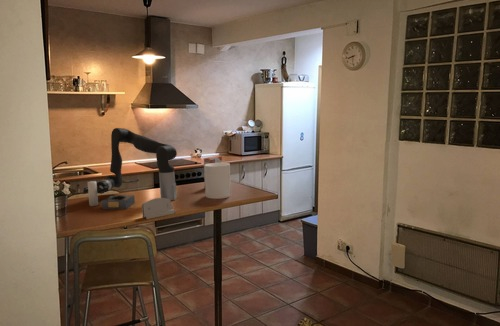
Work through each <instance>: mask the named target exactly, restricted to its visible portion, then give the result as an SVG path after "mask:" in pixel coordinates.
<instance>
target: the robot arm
mask: <svg viewBox="0 0 500 326" xmlns="http://www.w3.org/2000/svg"><path fill="white" fill-rule="evenodd" d="M110 138H111V139H110V141H111V145H110V146H111V147H110V148H111V161H110V167H109V171H110V173H112V174H114V175H108V176H106V178H105V179H102V180H100V181H96V182H97V194H101V195H102V194H104V193H107V192H109V191H110V190H111V189H113V188H120V187H121V186H122V185H123V177H122V176H123V175H122V166H123V157H122V155H121V153H120V148H119V147H120V143H126V144H127V143H128V144H131V145H132V146H133V147H135V149H136V150H138V151H141V152H144V153H148V154H149V153H150V154H155V157H156V167H157V169H158V176H159V177H158V178H159V189H160V190H159V191H160V198H167V199H170V201H175V200H176V199H177V198H178V194H177V193H178V192H177V190H178V189H177V183H176V177H175V167H174V166H172V165H170V164H169V161H171V160H173V159H176V157H177V154H178V152H177V149H176V148H175V147H174V146H173V145H171V144H166V143H162V142H159V141H157V140H154V139H151V138H149V137H147V136H144V135H142V134H137V133H135V132H133V131H131V130H130V129H128V128H125V127H123V128H122V127H115V128H113V129H112V131H111V134H110ZM83 194H88V186H86V187H83Z"/></svg>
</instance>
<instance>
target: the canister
mask: <svg viewBox="0 0 500 326" xmlns="http://www.w3.org/2000/svg"><path fill="white" fill-rule="evenodd" d="M204 167H205V181H204V188H205V198H207V199H213V200H216V199H218V200H219V199H225V198H226V199H227V198H230V197H232V184H231V183H232V181H231V179H232V178H231V164H230V162H222V163H209V164H205V165H204V164H203V168H204Z"/></svg>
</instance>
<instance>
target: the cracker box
mask: <svg viewBox="0 0 500 326" xmlns="http://www.w3.org/2000/svg"><path fill="white" fill-rule="evenodd" d="M209 163H223V156H221V155H212V156H209V157H203V176H204V177H203V179H204V181H203V182H205V167H204V165H205V164H209Z"/></svg>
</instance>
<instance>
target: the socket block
mask: <svg viewBox="0 0 500 326" xmlns="http://www.w3.org/2000/svg"><path fill="white" fill-rule="evenodd" d="M135 201H136V199H135V195H134V194H132V195H131V194H123V195H121V194H120V195H117V194H116V195H110V196H108V197H106V198H104V199H103V200H101V201H100V202H101V210H128V209H129V208H130V207H132V206H133V205H135V204H136V202H135ZM134 203H135V204H134Z"/></svg>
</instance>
